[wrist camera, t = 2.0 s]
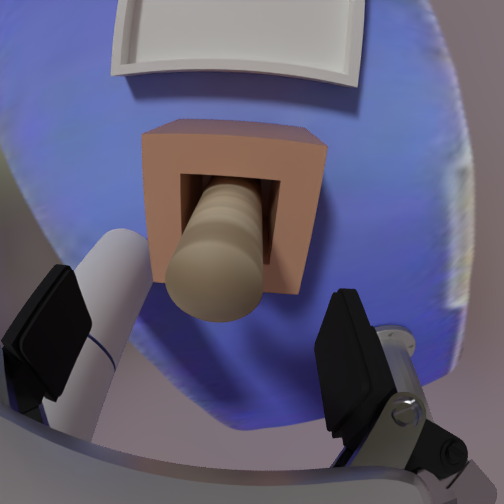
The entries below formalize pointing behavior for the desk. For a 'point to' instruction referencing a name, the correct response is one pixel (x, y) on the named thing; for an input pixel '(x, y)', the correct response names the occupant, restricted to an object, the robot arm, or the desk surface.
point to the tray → (241, 38)
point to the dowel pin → (220, 253)
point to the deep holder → (239, 165)
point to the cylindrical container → (103, 327)
